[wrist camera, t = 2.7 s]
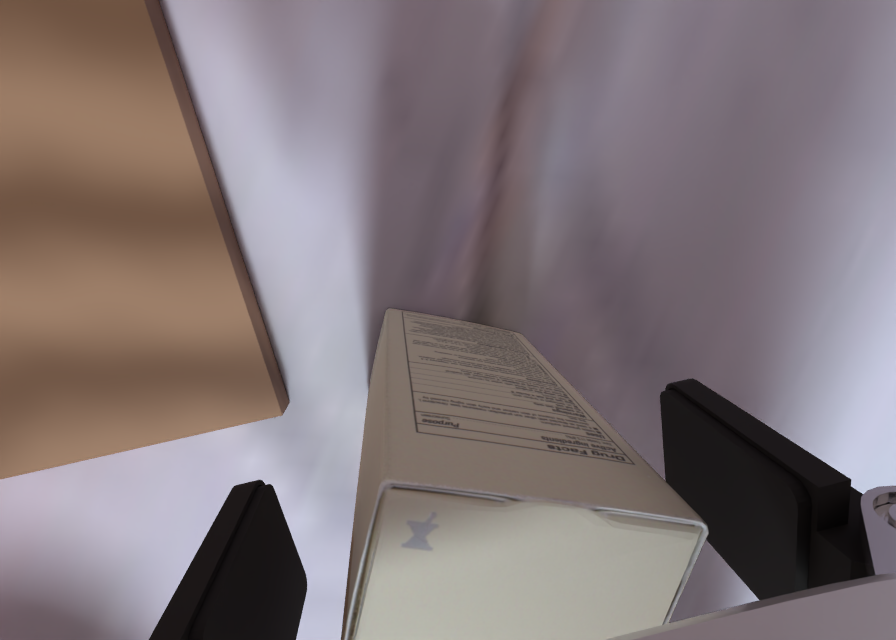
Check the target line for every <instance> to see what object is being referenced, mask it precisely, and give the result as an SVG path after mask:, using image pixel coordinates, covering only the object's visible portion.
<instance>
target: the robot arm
mask: <svg viewBox="0 0 896 640" xmlns="http://www.w3.org/2000/svg"><path fill="white" fill-rule="evenodd" d="M660 403H661V418H662V433H663V448H664V463H665V478H666V483H667V484H668V485H669V486H670V487H671V488H672V489H673V490H674V491H675V492H676V493H677V494H678V495H679V496H680V497H681V498H682V499H683V500H684V501H685V502H686V503H687V504H688V505H689V506H690V507H691V508H692V509H693V510H694V511H695V512H696V513H697V514H698V515H699V516H700V517H701V518H702V520H703V521H704V522H705V523H706V524H707V527H708V533H709V534H708V536H707V538H706V540H707V541H708V542H709V543H710V544H711V545H712V546H713V548H714V549H715V550H716V551H717V552H718V553H719V554H720V556H721V557H722V558H723V559H724V560H725V561H726V562H727V564H728V565H729V566H730V567H731V568H732V569H733V570H734V571H735V573H736V574H737V575H738V576H739V577H740V578H741V579H742V581H743V582H744V583H745V584H746V585H747V586H748V587H749V589H750V590H751V591H752V592H753V593H754V594H755V595H756V597H757V598H758V599H759V600H760V601H755V602H751V603H747V604H743V605H739V606H735V607H731V608H727V609H723V610H719V611H715V612H711V613H707V614H703V615H699V616H696V617H692V618H688V619H684V620H680V621H676V622H672V623H668V624H664V625H660V626H656V627H652V628H648V629H644V630H640V631H636V632H632V633H628V634H624V635H620V636H616V637H613V638H609V639H605V640H896V486H882V487H876V488H873V489H870V490H868V491H867V492H865V493H864V494H862V493H860V492H859V491H857V490H856V489H854V488H853V487H851V479H850V478H848V477H846V476H845V475H843V474H842V473H840V472H839V471H837V470H836V469H834V468H832V467H831V466H829V465H828V464H826V463H825V462H823V461H822V460H820V459H818V458H817V457H815V456H814V455H812V454H811V453H809V452H807V451H806V450H804V449H803V448H801V447H800V446H798V445H797V444H795V443H793V442H792V441H790V440H789V439H787V438H786V437H784V436H783V435H781V434H779V433H778V432H776V431H775V430H773V429H772V428H770V427H769V426H767V425H765V424H764V423H762V422H761V421H759V420H758V419H756V418H755V417H753V416H751V415H750V414H748V413H747V412H745V411H744V410H742V409H741V408H739V407H737V406H736V405H734V404H733V403H731V402H730V401H728V400H727V399H725V398H723V397H722V396H720V395H719V394H717V393H716V392H714V391H712V390H711V389H709V388H708V387H706V386H705V385H703V384H702V383H700V382H698V381H697V380H695V379H687V380H683V381H679V382H674V383H670V384H668V385H667V386H666V391H663V392H662V393H661V395H660ZM306 592H307V579H306V574H305V571H304V568H303V565H302V563H301V560H300V557H299V555H298V552H297V549H296V547H295V544H294V541H293V539H292V536H291V533H290V530H289V528H288V525H287V522H286V520H285V517H284V514H283V512H282V509H281V506H280V503H279V501H278V498H277V495H276V493H275V490H274V488H273V486H272V485H271V484H268V485H265V483H264V482H263V481H262V480H257V481H252V482H248V483H244V484H240V485H236V486H234V487H233V488H232V490H231V492H230V493H229V495H228V497H227V499H226V501H225V503H224V504H223V506H222V508H221V510H220V512H219V513H218V515H217V517H216V519H215V521H214V522H213V524H212V526H211V528H210V530H209V532H208V533H207V535H206V537H205V539H204V541H203V542H202V544H201V546H200V548H199V550H198V551H197V553H196V555H195V557H194V559H193V561H192V562H191V564H190V566H189V568H188V570H187V571H186V573H185V575H184V577H183V579H182V580H181V582H180V584H179V586H178V588H177V590H176V591H175V593H174V595H173V597H172V599H171V600H170V602H169V604H168V606H167V608H166V609H165V611H164V613H163V615H162V617H161V619H160V620H159V622H158V624H157V626H156V628H155V629H154V631H153V633H152V635H151V637H150V639H149V640H296V636H297V632H298V628H299V623H300V619H301V614H302V610H303V605H304V601H305V597H306Z"/></svg>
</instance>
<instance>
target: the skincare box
mask: <svg viewBox="0 0 896 640" xmlns="http://www.w3.org/2000/svg"><path fill="white" fill-rule="evenodd" d="M708 534H709V533H708V527H707V524H706V523H705V522H704V521H703V520H702V518H701V517H700V516H699V515H698V514H697V513H696V512H695V511H694V510H693V509H692V508H691V507H690V506H689V505H688V504H687V503H686V502H685V501H684V500H683V499H682V498H681V497H680V496H679V495H678V494H677V493H676V492H675V491H674V490H673V489H672V488H671V487H670V486H669V485H668V484H667V483H666V482H665V481H664V479H663V478H662V477H661V476H660V475H659V474H658V473H657V472H656V471H655V470H654V469H653V468H652V467H651V466H650V465H649V464H648V463H647V462H646V461H645V460H644V459H643V458H642V457H641V456H640V455H639V454H638V453H637V452H636V451H635V450H634V449H633V448H632V447H631V446H630V445H629V444H628V443H627V442H626V441H625V440H624V439H623V438H622V437H621V436H620V435H619V434H618V433H617V432H616V431H615V429H614V428H613V427H612V426H611V425H610V424H609V423H608V422H607V421H606V420H605V419H604V418H603V417H602V416H601V415H600V414H599V413H598V412H597V411H596V410H595V409H594V408H593V407H592V406H591V405H590V404H589V403H588V402H587V401H586V400H585V399H584V398H583V397H582V396H581V395H580V394H579V392H578V391H577V390H576V389H575V388H574V387H573V386H572V385H571V384H570V383H569V382H568V381H567V380H566V379H565V378H564V377H563V376H562V375H561V374H560V373H559V372H558V371H557V370H556V369H555V368H554V367H553V366H552V365H551V364H550V363H549V362H548V361H547V360H546V359H545V358H544V357H543V356H542V355H541V354H540V352H539V351H538V350H537V349H536V348H535V347H534V346H533V345H532V344H531V343H530V342H529V341H528V340H527V339H526V338H525V337H524V336H523V335H522V334H520V333H517V332H512V331H508V330H504V329H500V328H495V327H490V326H486V325H481V324H476V323H471V322H467V321H461V320H456V319H451V318H446V317H440V316H435V315H429V314H423V313H417V312H411V311H405V310H398V309H393V308H388V309H387V310H386V312H385V316H384V320H383V324H382V328H381V332H380V336H379V340H378V345H377V349H376V354H375V358H374V363H373V368H372V374H371V379H370V385H369V392H368V399H367V408H366V416H365V425H364V434H363V443H362V452H361V461H360V469H359V478H358V487H357V495H356V504H355V513H354V522H353V531H352V541H351V550H350V559H349V568H348V578H347V587H346V596H345V606H344V615H343V625H342V635H341V640H605V639H609V638H613V637H616V636H620V635H624V634H628V633H632V632H636V631H640V630H644V629H648V628H652V627H656V626H660V625H664V624H668V623H669V621H670V618H671V616H672V614H673V611H674V609H675V607H676V604H677V602H678V600H679V598H680V596H681V594H682V592H683V590H684V587H685V585H686V583H687V581H688V579H689V576H690V574H691V572H692V569H693V567H694V565H695V562H696V560H697V558H698V556H699V553H700V551H701V549H702V547H703V544H704V542H705V540H706V538H707V536H708Z"/></svg>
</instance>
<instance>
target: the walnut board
mask: <svg viewBox="0 0 896 640" xmlns="http://www.w3.org/2000/svg"><path fill="white" fill-rule="evenodd" d="M289 403H290V402H289V399H288V396H287V393H286V390H285V387H284V384H283V381H282V378H281V375H280V372H279V369H278V366H277V363H276V359H275V356H274V353H273V350H272V347H271V344H270V341H269V338H268V335H267V332H266V329H265V326H264V323H263V320H262V317H261V313H260V310H259V307H258V304H257V301H256V298H255V295H254V292H253V289H252V286H251V283H250V280H249V277H248V274H247V270H246V267H245V264H244V261H243V258H242V255H241V252H240V249H239V246H238V243H237V240H236V237H235V234H234V231H233V228H232V224H231V221H230V218H229V215H228V212H227V209H226V206H225V203H224V200H223V197H222V194H221V191H220V188H219V185H218V181H217V178H216V175H215V172H214V169H213V166H212V163H211V160H210V157H209V154H208V151H207V148H206V145H205V142H204V139H203V135H202V132H201V129H200V126H199V123H198V120H197V117H196V114H195V111H194V108H193V105H192V102H191V99H190V96H189V92H188V89H187V86H186V83H185V80H184V77H183V74H182V71H181V68H180V65H179V62H178V59H177V56H176V53H175V50H174V46H173V43H172V40H171V37H170V34H169V31H168V28H167V25H166V22H165V19H164V16H163V13H162V10H161V7H160V3H159V0H0V479H4V478H9V477H13V476H17V475H22V474H26V473H31V472H35V471H40V470H44V469H48V468H53V467H57V466H62V465H66V464H70V463H75V462H79V461H84V460H88V459H92V458H97V457H101V456H106V455H110V454H114V453H119V452H123V451H128V450H132V449H136V448H141V447H145V446H150V445H154V444H158V443H163V442H167V441H172V440H176V439H180V438H185V437H189V436H194V435H198V434H202V433H207V432H211V431H216V430H220V429H224V428H229V427H233V426H238V425H242V424H246V423H251V422H255V421H260V420H264V419H268V418H273V417H277V416H282V415H283V413H284V412H285V410H286V408H287V406H288V404H289Z"/></svg>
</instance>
